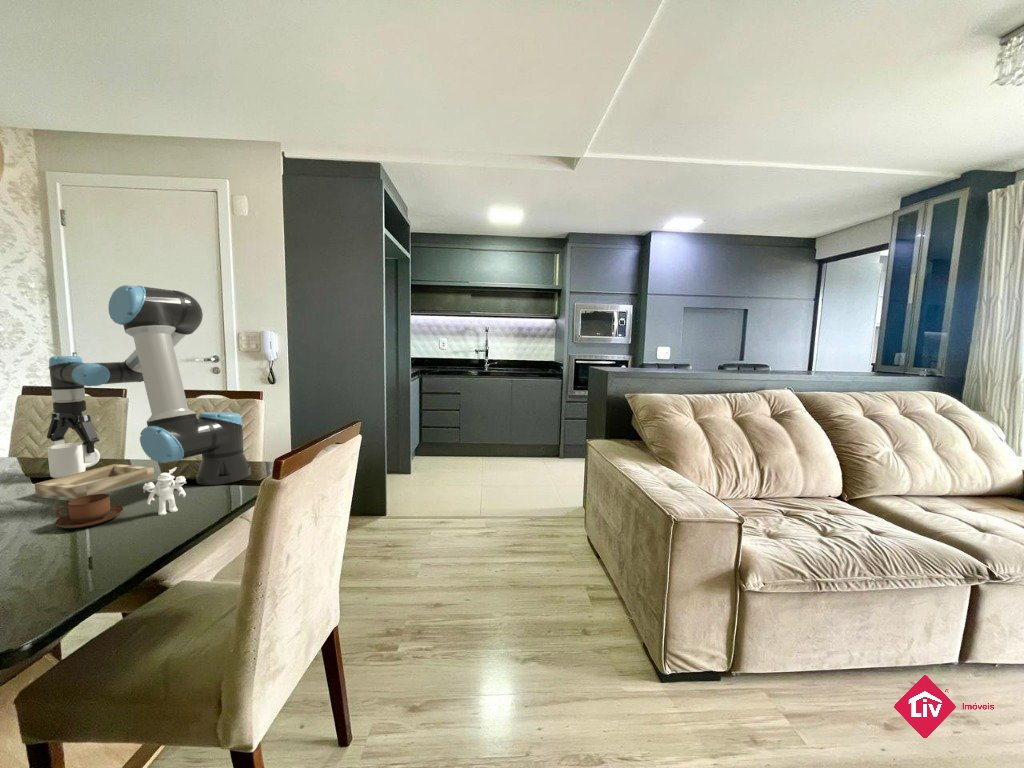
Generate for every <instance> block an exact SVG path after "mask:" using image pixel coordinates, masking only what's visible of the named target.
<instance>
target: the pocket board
mask: <svg viewBox="0 0 1024 768" xmlns="http://www.w3.org/2000/svg"><path fill="white" fill-rule="evenodd" d="M155 477H156V476H155V468H154V467H152V466H151V467H150V466H149V467H148V466H140V465H130V464H121V463H120V464H119V463H113V464H109V465H105V466H101V467H96V468H92V469H90V470H86V471H84V472H80V473H76V474H72V475H68V476H64V477H60V478H52V479H49V480H44V481H40V482H37V483H34V489H35V491H34V492H35V497H37V498H44V499H50V500H51V499H52V500H57V501H67V502H69V501H71V500H74V499H76V498H80V497H83V496H88V495H94V494H110V493H114V492H117V491H120V490H124V489H127V488H130V487H134V486H136V485H137V486H138V485H140V484H143V483H144V484H145V483H148V482H151V481H153V480H155V479H156V478H155Z"/></svg>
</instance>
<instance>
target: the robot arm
mask: <svg viewBox="0 0 1024 768" xmlns="http://www.w3.org/2000/svg"><path fill="white" fill-rule="evenodd" d="M108 314H109V317H110V320H112V322H114V323H115V324H118V325H120V326H123V329H124V333H126V334H127V335H129V336H130V337H132V338H133V342H134V346H135V349H134V350H133V351H132V352H131V354H130V355H129V356H128V357H127V358H126V359H125V360H124V361H115V362H113V361H112V362H84V361H83V358H82V357H80V355H79V356H78V355H76V356H75V355H56V356H54V355H53V356H51V357H50V358H49V359H48V361H49V362H48V364H49V365H48V369H49V377H50V379H49V380H50V386H51V389H50V390H51V399H52V401H53V403H52V408H53V413H51V420H50V424H49V428H48V430H47V434H46V439H48V440H49V439H50V441H51V442H52V446H54V445H59V444H66V441H65V439H66V438H65V435H66V433H67V432H68V430H69V428H70V429H71V430H74V431H75V432H76V434H77V436H78V437H79V438H80V440H81V441H82V443H83V444H82V449H83V460H84V463H90V462H93V461H95V453H94V451H95V450H94V448H95V443H97V442H100V438H99V436H98V434H97V432H96V429H95V427H94V424H93V423H92V419H91V415H90V414H86V415H83V412H85V411H86V410H87V401H86V400H85V399H86V393H85V392H86V390H85V387H98V386H101V385H113V384H123V383H124V384H127V383H142V382H143V385H144V388H145V391H146V396H147V400H148V404H149V408H150V413H151V415H150V417H149V418H148V419H147V420H146V425H147V426H146V427H145V428H143V429H142V430H141V432H140V436H139V443H140V446H141V449H142V450H143V452H144V454H145V455H146V456H147V457H148V458H149V459H150V460H152V461H154V462H156V463H161V464H164V463H165V464H166V463H171V462H177V461H178V462H179V461H182V460H184V459H187V458H192V457H196V456H199V455H201V460H200V463H199V467H198V471H197V473H196V477H195V478H196V483H197V484H198V485H200V486H201V485H202V486H216V485H217V486H219V485H224V484H225V485H226V484H229V483H234V482H238V481H241V480H244V479H246V478H248V477H250V476H251V475H252V474H251V472H252V471H251V466H250V465H249V463H248V459H247V458H246V456H245V453H244V436H243V435H244V434H243V426H244V424H243V421H242V420H243V419H242V416H241V414H240V413H238V412H226V411H207V412H200V413H199V414H198V417H197V413H196V412H195V411H193V410H191V409H190V408H189V407H188V406H189V405H188V403H187V402H188V401H187V398H186V393H185V390H184V385H183V381H182V380H183V379H182V376H181V371H180V367H179V364H178V360H177V355H176V352H175V351H176V350H175V347H176V345H178V344H179V342H180V341H181V340H183V338H185V336H188V335H192V334H193V333H194V332H196V331H197V329H198V328H199V327H200V325H201V324H202V321H203V315H204V313H203V309H202V307H201V305H200V302H198V301H197V299H195V298H194V296H192V295H190V294H188V293H186V292H183V291H180V290H173V289H172V290H171V289H166V288H165V289H164V288H157V287H149V286H143V285H129V284H127V285H125V284H124V285H122V286H118V287H117V288H116V289H115V290H114V291H113V292H112V294H111V296H110V298H109V301H108Z"/></svg>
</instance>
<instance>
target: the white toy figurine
mask: <svg viewBox="0 0 1024 768" xmlns="http://www.w3.org/2000/svg"><path fill="white" fill-rule="evenodd" d="M177 468H178V466H177V467H176V466H175V467H174V468H172V469H168V471H169V472H162V473H160V475H158V477H156V481H157V482H156V483H154V482H153V481H148V482H145V483H144V485H143V486H142V490H143V491H142V492H143V493H146V491H147V492H148V493H149V494H148V498H147V500H146V504H147V505H149V506H150V505H151V502H152V501H155V498H154V497H155V495H156V496H158V511H157V514H158V516H165V515H166V514H168V513H167V512H170V513H175V512H178V510H179V508H178V507H177V505H176V504H177V503H176V499H175V496H174V490H175V489H176V490H177V491H178V492H179V493H178V497H180V496H181V495H182V498H185V497H186V496H187V493H186V491H185V490H184V488H183V487H182V486H183V485H184V484H187V481H186V480H187V479H186V478H185V476H183V475H178V476H175V475H172V474H173V473H174V472H175V471H176V470H177ZM174 479H175V480H174ZM167 502H168V511H167V510H166V505H167Z"/></svg>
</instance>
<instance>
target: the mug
mask: <svg viewBox="0 0 1024 768" xmlns="http://www.w3.org/2000/svg"><path fill="white" fill-rule="evenodd" d="M82 444H83V442H67V443H66V442H65V444H59V445H54V446H53V445H51V446H48V447H47V448H46V449H47V450H46V451H47V459H48V468H49V470H48V471H49V475H50V476H49V477H51V478H52V479H56V478H60V477H64V476H68V475H72V474H76V473H80V472H84V471H87V470H86V468H91V467H93V466H95V465H96V464H97V463H99V461H100V460H101V459H100V458H101V454H100V452H99V450H98V449H96V448H95V447H94V450H95V451H94V453H95V461H93V462H88V463H84V460H83V449H82Z"/></svg>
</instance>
